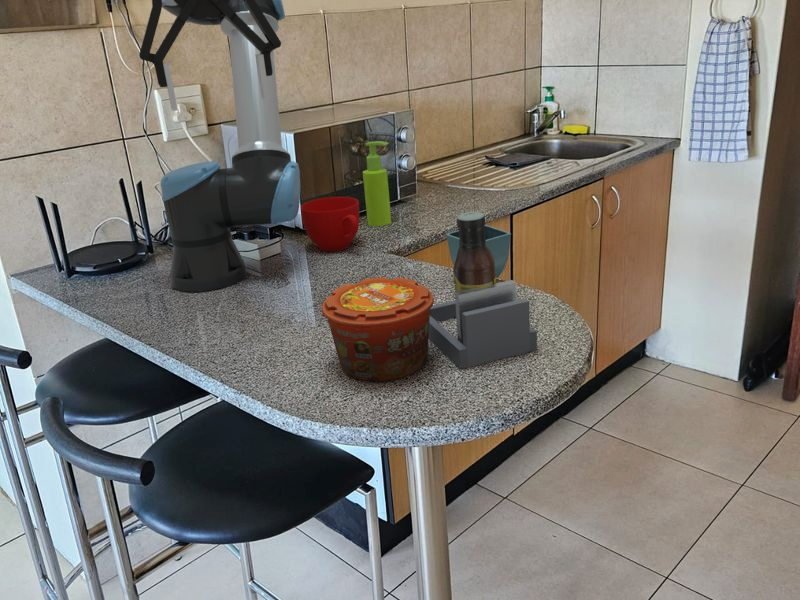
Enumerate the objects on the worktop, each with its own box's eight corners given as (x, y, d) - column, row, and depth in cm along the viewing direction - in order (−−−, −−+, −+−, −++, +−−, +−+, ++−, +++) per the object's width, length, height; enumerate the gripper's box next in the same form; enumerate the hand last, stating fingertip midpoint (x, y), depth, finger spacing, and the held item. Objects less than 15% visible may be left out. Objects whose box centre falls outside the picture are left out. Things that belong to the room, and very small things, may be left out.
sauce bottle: (474, 328, 110) (468, 206, 103) (507, 336, 106) (503, 210, 99) (449, 343, 106) (440, 217, 99) (483, 353, 102) (476, 222, 95)
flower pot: (475, 290, 125) (473, 243, 122) (447, 278, 132) (444, 233, 129) (513, 278, 129) (512, 232, 126) (483, 267, 136) (482, 223, 133)
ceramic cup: (334, 264, 145) (328, 218, 142) (295, 248, 158) (289, 205, 155) (384, 249, 152) (380, 205, 148) (343, 234, 165) (339, 193, 161)
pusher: (458, 355, 102) (455, 292, 98) (513, 341, 105) (512, 279, 101) (461, 358, 101) (458, 295, 97) (517, 344, 104) (516, 282, 100)
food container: (307, 376, 100) (297, 308, 96) (368, 332, 112) (362, 270, 108) (402, 399, 92) (395, 325, 88) (456, 348, 104) (453, 282, 100)
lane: (413, 324, 114) (409, 278, 111) (481, 308, 117) (479, 264, 114) (460, 369, 98) (457, 317, 95) (536, 349, 102) (536, 299, 99)
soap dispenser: (390, 226, 168) (383, 143, 161) (364, 226, 171) (356, 144, 163) (398, 219, 173) (391, 139, 166) (372, 219, 176) (365, 140, 168)
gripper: (98, -52, 89) (134, 116, 97) (287, -61, 97) (307, 96, 105) (99, -45, 96) (134, 112, 104) (277, -54, 103) (296, 93, 111)
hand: (221, 104), depth 104 cm, fingers open, 13 cm apart
